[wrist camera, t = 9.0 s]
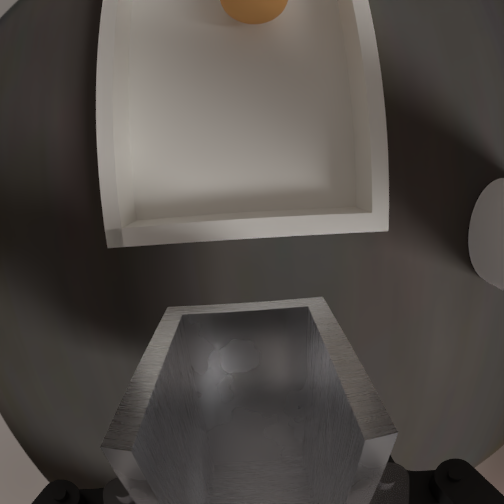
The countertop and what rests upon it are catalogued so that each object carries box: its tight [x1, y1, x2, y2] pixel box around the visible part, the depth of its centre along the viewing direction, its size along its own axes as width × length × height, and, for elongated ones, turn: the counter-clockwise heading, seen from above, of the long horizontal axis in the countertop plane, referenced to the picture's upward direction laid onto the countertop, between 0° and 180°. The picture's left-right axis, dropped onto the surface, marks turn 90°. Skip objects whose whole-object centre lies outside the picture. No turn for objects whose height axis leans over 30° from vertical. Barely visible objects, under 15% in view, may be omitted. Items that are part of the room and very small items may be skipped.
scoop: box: [100, 297, 398, 504], centre depth 8 cm, size 8×5×6 cm, turn 4°
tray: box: [96, 0, 389, 248], centre depth 12 cm, size 15×12×3 cm
